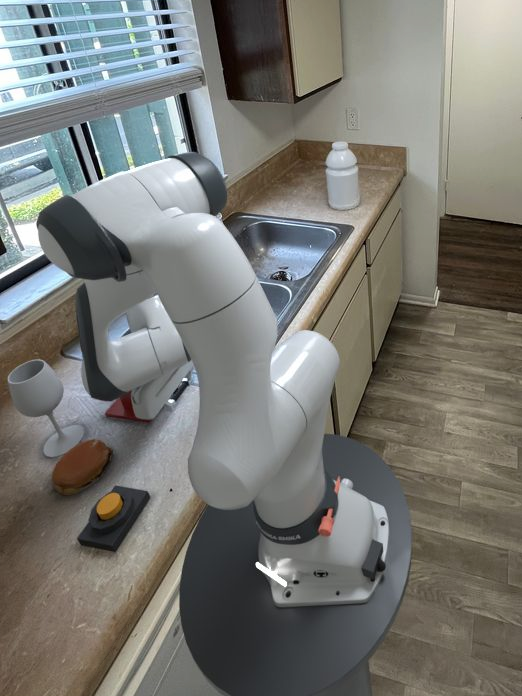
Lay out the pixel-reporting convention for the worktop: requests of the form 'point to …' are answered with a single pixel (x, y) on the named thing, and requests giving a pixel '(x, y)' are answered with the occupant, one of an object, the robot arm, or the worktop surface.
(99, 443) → the burger
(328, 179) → the bottle
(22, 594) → the worktop surface
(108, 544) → the button box
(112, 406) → the bracket
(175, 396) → the lever
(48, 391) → the wineglass
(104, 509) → the button
